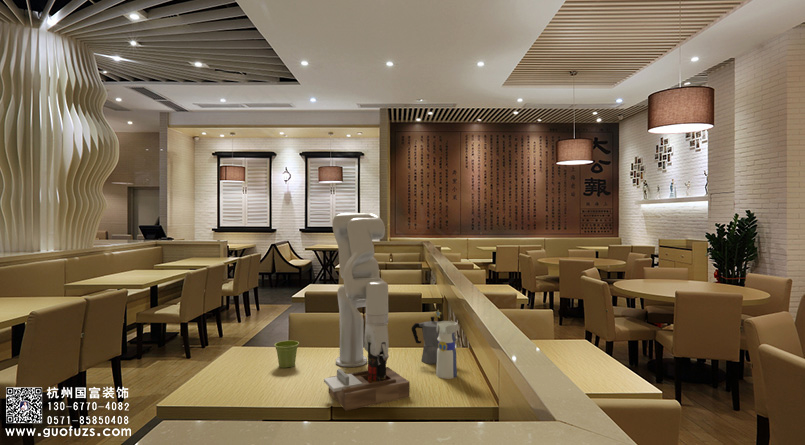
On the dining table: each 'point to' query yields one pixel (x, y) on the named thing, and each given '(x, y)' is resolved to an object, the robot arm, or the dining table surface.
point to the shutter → (341, 381)
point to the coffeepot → (428, 340)
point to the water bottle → (446, 349)
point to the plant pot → (286, 353)
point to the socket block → (372, 390)
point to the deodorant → (373, 367)
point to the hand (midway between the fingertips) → (376, 372)
